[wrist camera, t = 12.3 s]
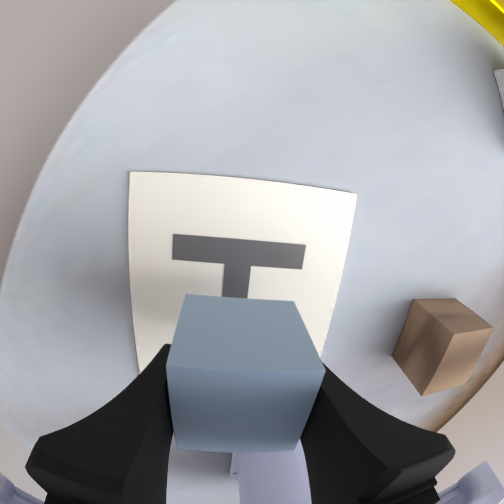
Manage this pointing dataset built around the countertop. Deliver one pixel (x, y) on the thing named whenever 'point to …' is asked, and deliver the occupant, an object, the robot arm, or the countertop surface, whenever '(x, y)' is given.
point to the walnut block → (440, 344)
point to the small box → (500, 82)
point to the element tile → (486, 15)
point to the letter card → (232, 248)
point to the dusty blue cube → (241, 375)
